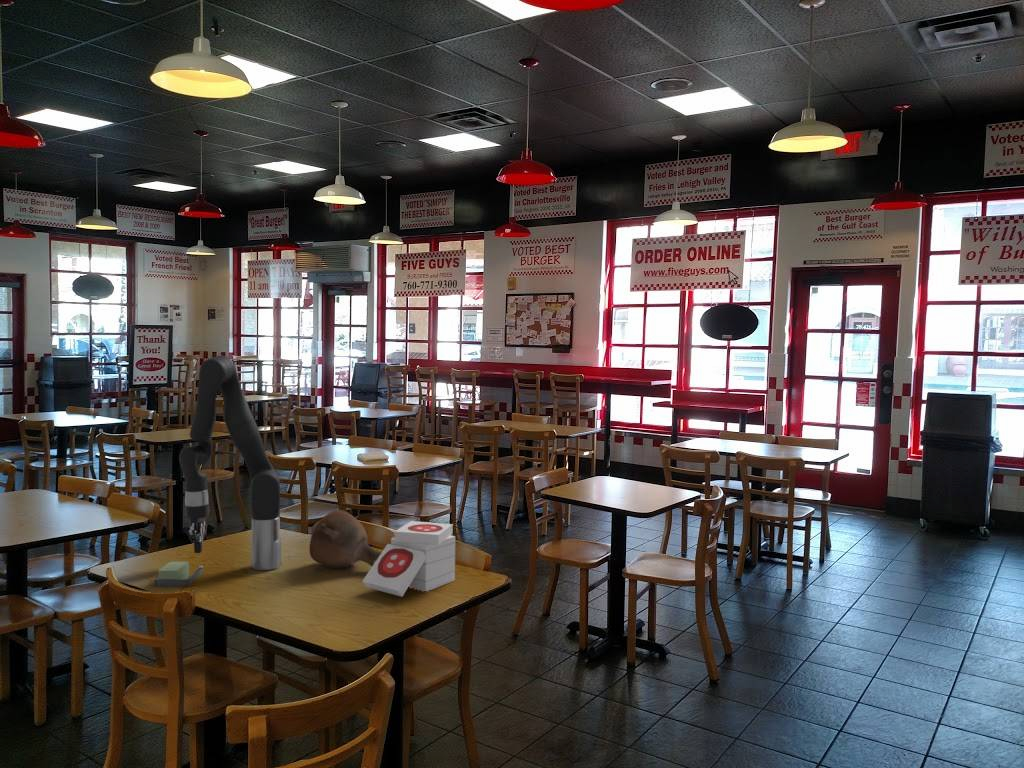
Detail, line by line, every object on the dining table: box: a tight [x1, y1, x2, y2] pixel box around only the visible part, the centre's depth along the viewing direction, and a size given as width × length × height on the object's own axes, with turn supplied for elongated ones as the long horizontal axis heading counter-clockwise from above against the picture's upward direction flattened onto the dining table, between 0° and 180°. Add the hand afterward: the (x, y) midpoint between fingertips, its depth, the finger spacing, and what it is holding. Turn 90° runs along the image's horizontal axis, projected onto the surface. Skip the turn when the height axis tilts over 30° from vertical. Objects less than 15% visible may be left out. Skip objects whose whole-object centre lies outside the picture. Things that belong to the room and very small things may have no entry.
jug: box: [308, 509, 382, 569], centre depth 266 cm, size 20×20×30 cm
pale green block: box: [157, 561, 190, 579], centre depth 249 cm, size 6×10×5 cm, turn 3°
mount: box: [154, 565, 203, 587], centre depth 250 cm, size 11×14×3 cm
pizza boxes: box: [362, 520, 456, 597], centre depth 248 cm, size 19×30×18 cm, turn 146°
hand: (198, 552), depth 267 cm, fingers closed
